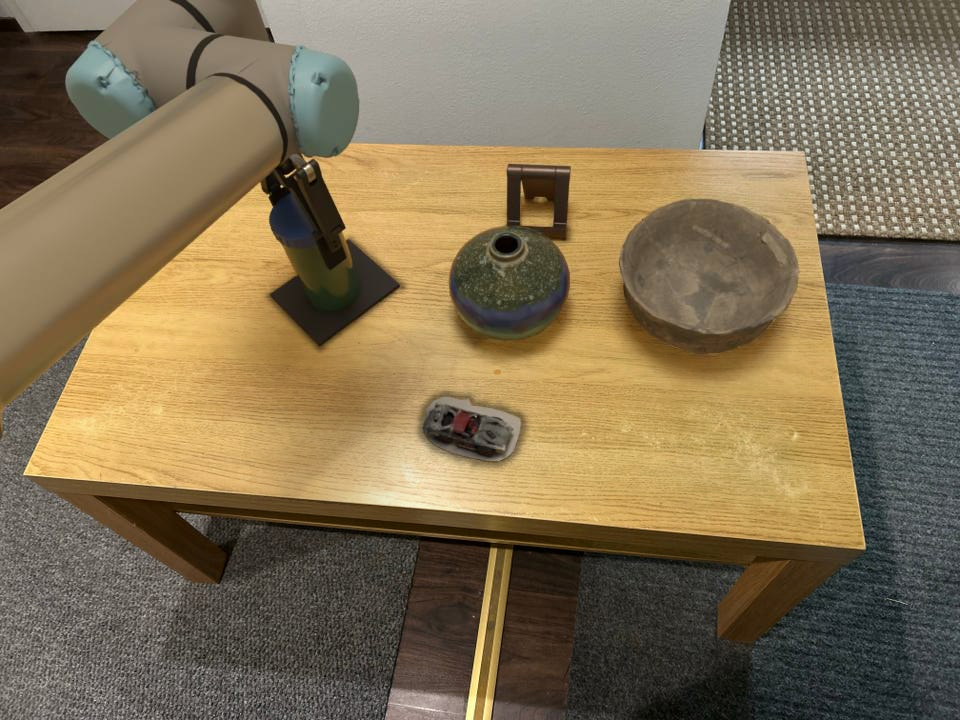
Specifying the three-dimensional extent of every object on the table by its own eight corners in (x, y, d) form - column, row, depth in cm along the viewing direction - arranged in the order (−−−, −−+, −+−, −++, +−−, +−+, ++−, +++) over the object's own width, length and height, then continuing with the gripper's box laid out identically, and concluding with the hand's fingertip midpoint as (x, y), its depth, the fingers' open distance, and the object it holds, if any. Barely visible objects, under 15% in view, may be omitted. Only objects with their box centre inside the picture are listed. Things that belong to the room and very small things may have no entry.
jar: (328, 320, 93) (294, 250, 81) (297, 289, 96) (260, 217, 84) (372, 288, 95) (346, 215, 83) (340, 259, 99) (310, 184, 86)
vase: (454, 269, 97) (441, 201, 85) (563, 261, 96) (566, 191, 85) (454, 362, 89) (441, 300, 77) (574, 354, 88) (578, 291, 76)
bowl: (623, 241, 97) (630, 189, 88) (776, 258, 93) (799, 206, 85) (603, 364, 87) (609, 319, 78) (774, 390, 83) (800, 345, 74)
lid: (300, 260, 82) (295, 250, 80) (260, 226, 85) (255, 216, 84) (352, 220, 84) (348, 210, 83) (311, 190, 88) (307, 179, 86)
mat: (319, 346, 92) (318, 344, 91) (270, 296, 97) (269, 294, 96) (400, 286, 96) (399, 283, 95) (349, 241, 101) (348, 238, 101)
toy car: (518, 463, 81) (517, 453, 78) (417, 457, 82) (413, 446, 79) (522, 400, 85) (522, 388, 82) (427, 395, 86) (423, 383, 84)
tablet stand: (504, 237, 99) (500, 195, 92) (510, 197, 103) (508, 154, 96) (565, 240, 98) (567, 198, 91) (569, 200, 102) (571, 156, 95)
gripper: (345, 118, 66) (390, 269, 85) (223, 37, 74) (290, 191, 94) (283, 161, 63) (344, 306, 83) (164, 72, 72) (245, 222, 91)
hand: (315, 245), depth 88 cm, fingers closed on lid, 8 cm apart
